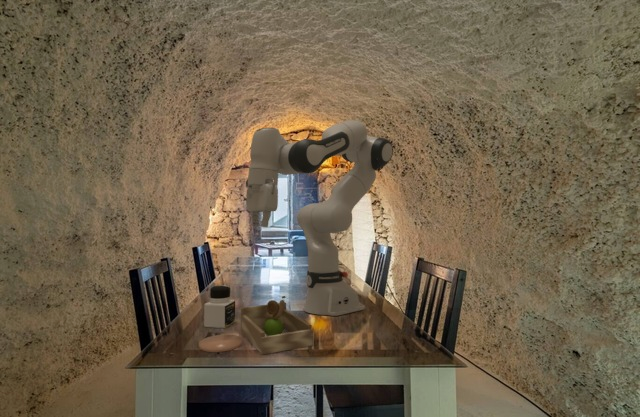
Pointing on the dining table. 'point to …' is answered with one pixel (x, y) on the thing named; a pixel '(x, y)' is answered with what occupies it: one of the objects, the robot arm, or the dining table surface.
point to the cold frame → (297, 338)
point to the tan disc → (220, 343)
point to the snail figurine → (274, 318)
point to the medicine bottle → (219, 308)
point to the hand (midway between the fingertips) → (259, 226)
